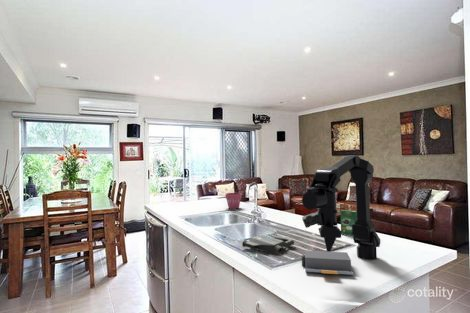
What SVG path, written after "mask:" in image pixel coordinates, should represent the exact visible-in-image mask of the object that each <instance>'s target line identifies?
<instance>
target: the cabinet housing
mask: <svg viewBox="0 0 470 313" xmlns="http://www.w3.org/2000/svg"><path fill="white" fill-rule="evenodd" d="M301 266H302V267H303V266H305V268H306V269H307V268H310V269H321V270H336V271H350V272H352V259H351V258H350V256H349V254H348V252H346V251H345V252H344V251H343V252H342V251H330V252H328V251H327V250H325V251H323V250H304V254H301Z"/></svg>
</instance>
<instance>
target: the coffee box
mask: <svg viewBox="0 0 470 313" xmlns="http://www.w3.org/2000/svg"><path fill="white" fill-rule="evenodd" d="M356 221H357V210H346V209H345V210H344V209H340V231H341V235H344V234H347V236H352V231H353V229H352V225H353V224H355V222H356Z"/></svg>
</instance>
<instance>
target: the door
mask: <svg viewBox="0 0 470 313" xmlns="http://www.w3.org/2000/svg"><path fill="white" fill-rule="evenodd" d="M306 272H308V273H321V274H327V275H328V274H330V275H351V276H352V275H353V276H354V275H355V274H354V273H355V272H353V271H351V272H350V271H336V270H321V269H310V268H307V269H306V268H305V273H306Z"/></svg>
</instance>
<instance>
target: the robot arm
mask: <svg viewBox="0 0 470 313" xmlns="http://www.w3.org/2000/svg"><path fill="white" fill-rule="evenodd" d="M374 171H375V167H374V165H373V164H372V163H370V162H369V160H366V159H364V158H361V157H360V156H359V155H357V154H356V155H355V154H354V155H353V154H352V155H351V154H350V155H346V156H345V155H344V157H343V158H341V159H339V161H337V162H336V163H334V164H333V165H332V166H329V167H323V168H320V169H317V170H316V171H315V173H314V176H313V178H312V181H311V183H310V186H309V187H308V188H307V189H306V192H305V193H304V194H303V195H302V198H301V202H302V205H303V207H304V208H305V209H306V210H308V211H312V210H317V211H316V212H312V213H309V214H306V215H303V216H302V222H303V225H304V226H305V228H307V229H308V228H310V227H312V226H315V225H317V226H320V227H319V228H318V233H319V236H320V238H323V240H324V244H325V248H326V251H327V252H332V248H333V247H334V245H335V242H336V240H337V239H341V238H342V234H341V228H339V227H338V222H337V214H338V210H337V195H336V193H339V189H338V188H337V186H338V185H339V183H340V182H341V178H342V176H344V175H345V174H346V173H347V172H349V173H350V179H351V180H352V182H353V183H354V185H355V201H356V202H355V203H356V222H355V224H353V225H352V229H353V231H352V235H353V236H352V235H351V236H352V239H353V243H354V244H357V246H356V256H357V258H358V259H363V260H367V261H374V260H377V258H378V256H377V252H378V251H377V248H380V245H381V238H380V237H379V236H378V233H377V231H376V226H375V225H374V222H373V221H372V220H371V209H370V208H371V207H370V206H371V205H370V183H371V181H372V180H373V178H374V177H373V176H374Z"/></svg>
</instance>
